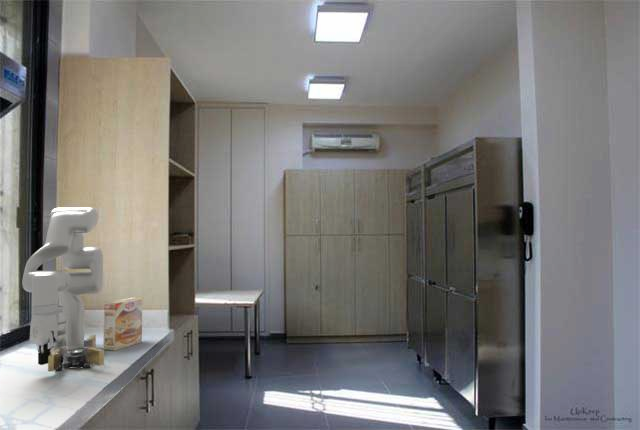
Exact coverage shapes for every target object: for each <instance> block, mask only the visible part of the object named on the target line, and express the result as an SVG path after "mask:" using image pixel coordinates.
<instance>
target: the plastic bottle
mask: <svg viewBox="0 0 640 430" xmlns="http://www.w3.org/2000/svg"><path fill="white" fill-rule="evenodd" d="M63 308H64V307H63V306H59V305H58V313H56V317H57V333H58V334H57V342H56V343H54V348H51V353H52V352H54V349H56V348H63V354H65V353H68V352H69V350H67V345H66V326H67V317H66V316H65V314H64V313H63V311H64V310H63Z"/></svg>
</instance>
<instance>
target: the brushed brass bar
mask: <svg viewBox="0 0 640 430" xmlns="http://www.w3.org/2000/svg"><path fill="white" fill-rule="evenodd" d="M62 364H64V361H63V348H56V349H54V352H52V353H51V354H50V355H49V356H48V364H47V372H54V371H55V372H60V371H63V369H62Z"/></svg>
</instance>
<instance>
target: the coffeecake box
mask: <svg viewBox="0 0 640 430" xmlns="http://www.w3.org/2000/svg"><path fill="white" fill-rule="evenodd" d="M142 342H143V298H142V297H129V298H123V299H121V298H120V299H117V300H116V299H115V300H111V301H105V302H104V303H103V347H102V348H103V349H102V350H108V351H109V350H110V351H118V350H121V349H124V348H126V347H127V348H128V347H130V346H133V345H136V344H140V343H142Z"/></svg>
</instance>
